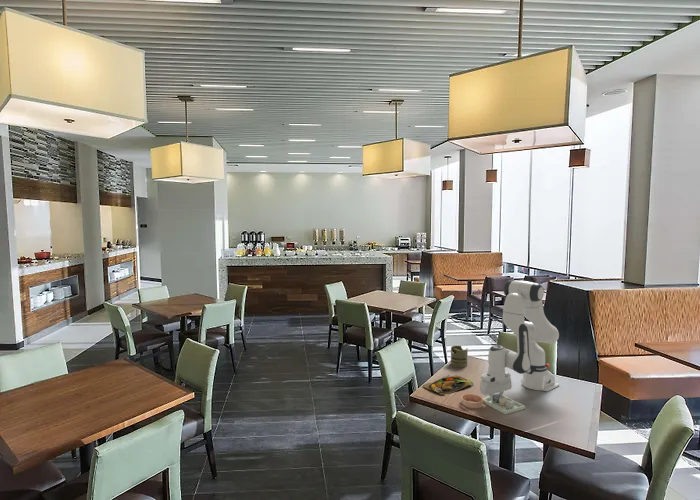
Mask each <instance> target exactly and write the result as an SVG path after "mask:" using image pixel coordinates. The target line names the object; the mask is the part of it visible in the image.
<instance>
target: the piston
mask: <svg viewBox="0 0 700 500" xmlns="http://www.w3.org/2000/svg"><path fill="white" fill-rule="evenodd" d="M468 351H469V350H468V347H466V348H465V349H463V348H462V345H453V346H450V365H451V366H452V367H455V368H461V369H462V368H467V367H468V356H469V355H468Z"/></svg>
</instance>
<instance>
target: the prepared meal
mask: <svg viewBox="0 0 700 500" xmlns="http://www.w3.org/2000/svg"><path fill="white" fill-rule="evenodd" d="M422 385H423V386H422V387H423V389H425V388H426V389H425V390H427V389H428V391H431V392H433V393H434V392H436V393H437V394H438V395H440V396H441V397H445V396H446V395H450V394H453V393H455V392H457V391H460V390H462V389H465V388H466V387H467V386H469V385H473V386H474V382H473V381H472V380H470V379H467V378H465V377H462V376H460V375H457V374H456V375H451V374H449V375H446V376H443V377H442V378H440V379H437V380H435V381H432V382H429V383H424V384H422Z"/></svg>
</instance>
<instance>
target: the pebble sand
mask: <svg viewBox="0 0 700 500" xmlns="http://www.w3.org/2000/svg"><path fill="white" fill-rule="evenodd" d="M506 401H507V398H505V397H499V405H500V406H502V407H506Z"/></svg>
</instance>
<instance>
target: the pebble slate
mask: <svg viewBox="0 0 700 500" xmlns="http://www.w3.org/2000/svg"><path fill="white" fill-rule="evenodd" d="M492 396H493V397H494V401H492V402H494V403H499V397H500V395H499V393H494V394H493V395H492Z"/></svg>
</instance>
